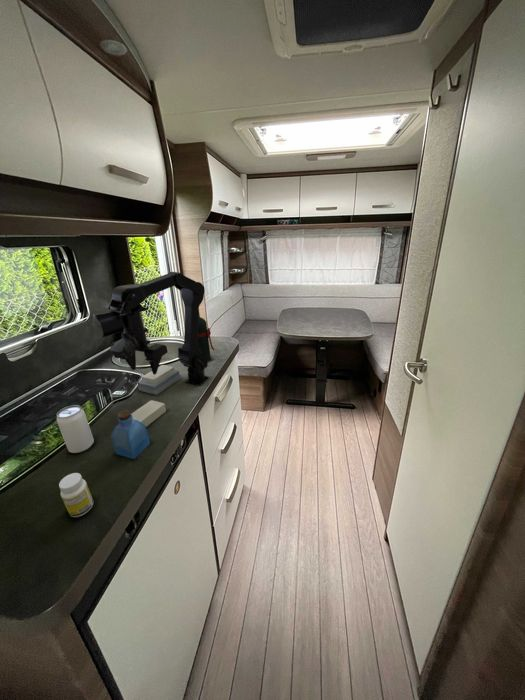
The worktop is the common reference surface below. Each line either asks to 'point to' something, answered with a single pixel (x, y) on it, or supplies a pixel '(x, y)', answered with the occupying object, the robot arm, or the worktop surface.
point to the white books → (149, 412)
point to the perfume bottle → (129, 436)
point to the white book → (158, 374)
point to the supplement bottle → (76, 495)
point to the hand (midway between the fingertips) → (144, 371)
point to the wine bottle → (204, 339)
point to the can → (75, 429)
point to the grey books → (159, 384)
